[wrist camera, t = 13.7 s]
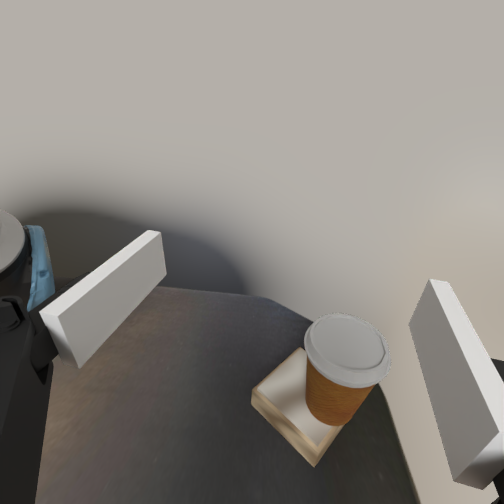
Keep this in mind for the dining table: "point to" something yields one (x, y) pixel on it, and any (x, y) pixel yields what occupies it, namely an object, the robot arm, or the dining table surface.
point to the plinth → (293, 408)
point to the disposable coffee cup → (342, 365)
